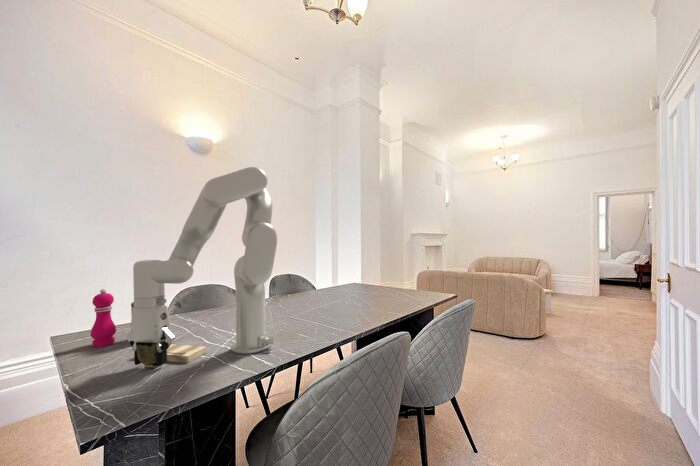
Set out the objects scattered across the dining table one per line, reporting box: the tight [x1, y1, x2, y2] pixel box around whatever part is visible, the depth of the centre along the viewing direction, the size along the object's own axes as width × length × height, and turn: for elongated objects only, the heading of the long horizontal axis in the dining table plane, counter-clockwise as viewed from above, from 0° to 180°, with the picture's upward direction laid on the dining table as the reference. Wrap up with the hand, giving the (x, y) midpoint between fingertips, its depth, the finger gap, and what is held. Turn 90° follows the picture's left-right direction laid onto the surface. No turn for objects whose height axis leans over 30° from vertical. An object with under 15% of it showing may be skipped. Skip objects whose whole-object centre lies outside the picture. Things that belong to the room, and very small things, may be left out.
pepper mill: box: [90, 288, 117, 348], centre depth 109 cm, size 7×7×20 cm
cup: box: [136, 342, 164, 370], centre depth 88 cm, size 8×7×8 cm
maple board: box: [167, 343, 208, 364], centre depth 97 cm, size 20×8×2 cm, turn 77°
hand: (150, 363), depth 88 cm, fingers closed on cup, 6 cm apart
